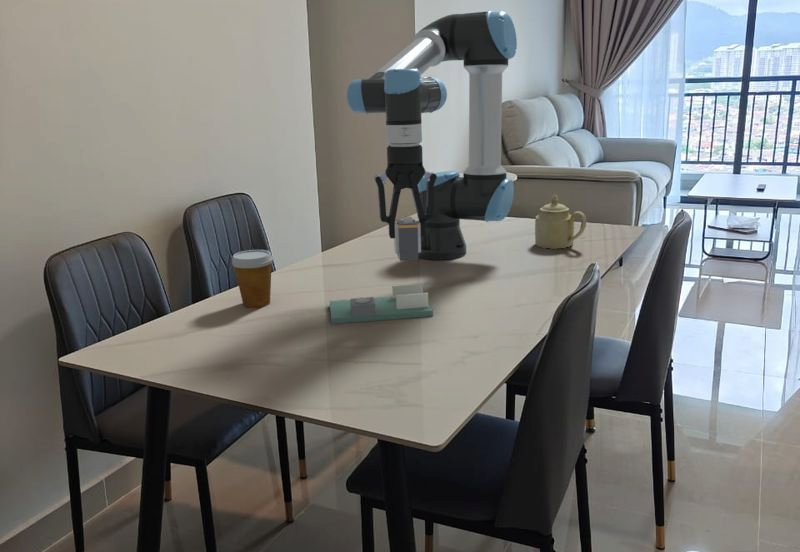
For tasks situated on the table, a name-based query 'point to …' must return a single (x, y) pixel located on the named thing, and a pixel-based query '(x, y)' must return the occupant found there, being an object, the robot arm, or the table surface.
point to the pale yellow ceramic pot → (556, 226)
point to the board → (383, 306)
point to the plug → (408, 239)
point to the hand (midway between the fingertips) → (407, 251)
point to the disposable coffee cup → (253, 276)
